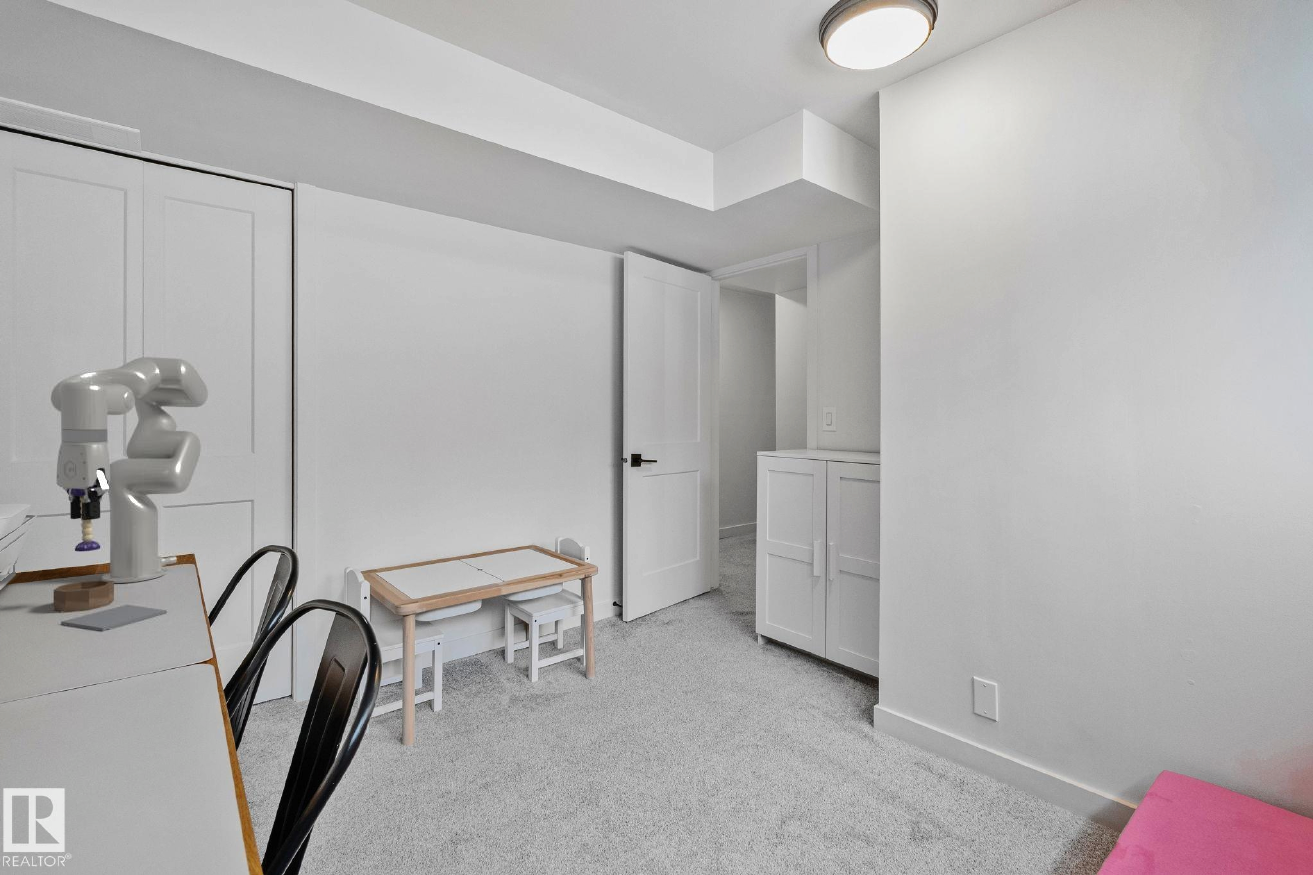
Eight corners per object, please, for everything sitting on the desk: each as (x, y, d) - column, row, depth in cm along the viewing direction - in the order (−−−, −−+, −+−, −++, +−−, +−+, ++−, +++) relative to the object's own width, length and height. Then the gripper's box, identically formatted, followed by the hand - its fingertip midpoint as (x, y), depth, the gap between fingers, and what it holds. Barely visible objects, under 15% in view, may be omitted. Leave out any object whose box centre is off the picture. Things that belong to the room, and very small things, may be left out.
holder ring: (94, 597, 140) (94, 578, 140) (122, 601, 138) (122, 582, 138) (45, 609, 131) (45, 588, 131) (74, 613, 129) (74, 592, 129)
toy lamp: (85, 552, 132) (84, 477, 132) (64, 551, 132) (64, 477, 132) (105, 547, 137) (105, 475, 136) (85, 547, 137) (85, 475, 137)
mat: (126, 607, 134) (126, 604, 134) (166, 612, 131) (166, 610, 131) (61, 624, 122) (61, 621, 122) (103, 631, 119) (103, 628, 119)
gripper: (38, 436, 132) (39, 518, 133) (90, 439, 128) (91, 524, 129) (79, 435, 139) (79, 513, 140) (129, 438, 135) (130, 518, 136)
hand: (85, 518), depth 134 cm, fingers closed on toy lamp, 2 cm apart
